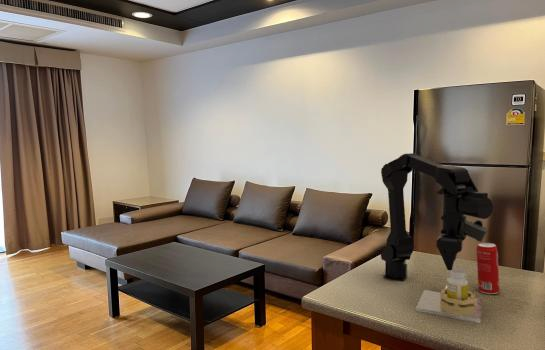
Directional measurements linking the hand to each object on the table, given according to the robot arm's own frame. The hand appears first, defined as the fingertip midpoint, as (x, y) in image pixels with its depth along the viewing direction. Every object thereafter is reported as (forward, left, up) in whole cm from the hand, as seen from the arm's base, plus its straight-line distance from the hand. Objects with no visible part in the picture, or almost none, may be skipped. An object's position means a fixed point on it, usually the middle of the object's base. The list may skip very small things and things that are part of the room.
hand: (451, 264), depth 112 cm
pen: (-2, +18, -12) cm, 21 cm away
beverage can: (+9, +14, -12) cm, 21 cm away
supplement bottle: (+2, -2, -11) cm, 11 cm away
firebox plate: (0, -2, -12) cm, 12 cm away
